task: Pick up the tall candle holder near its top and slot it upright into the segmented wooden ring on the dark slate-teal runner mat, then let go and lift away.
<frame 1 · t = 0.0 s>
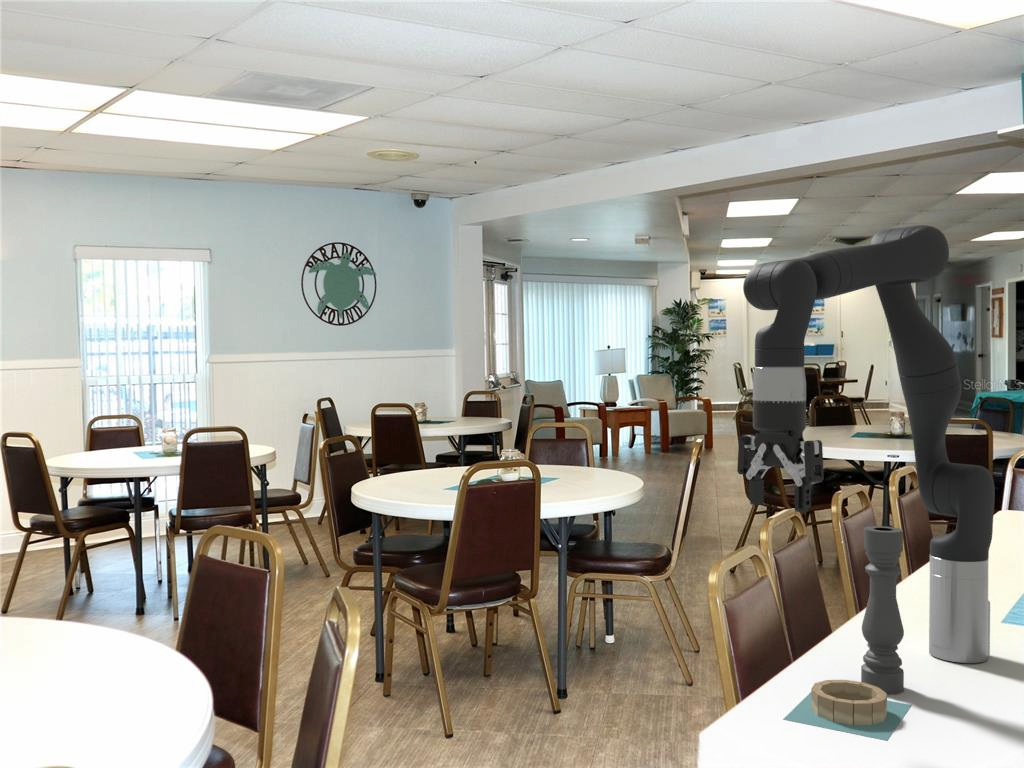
hand: (778, 508, 141), 29 cm above the table, fingers open, 8 cm apart
segmented wooden ring: (848, 711, 139), resting on runner mat
candle holder: (882, 691, 149), on the table
runner mat: (848, 714, 139), on the table
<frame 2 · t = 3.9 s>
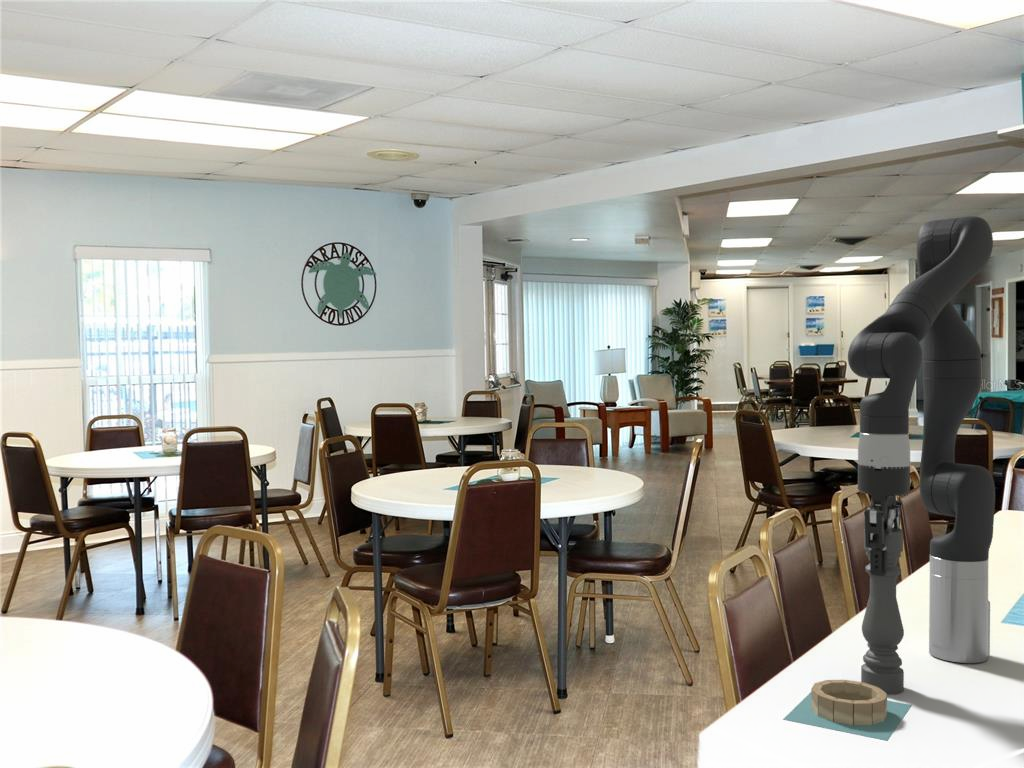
hand: (883, 571, 149), 19 cm above the table, fingers closed on candle holder, 5 cm apart
candle holder: (882, 691, 149), on the table, touching gripper
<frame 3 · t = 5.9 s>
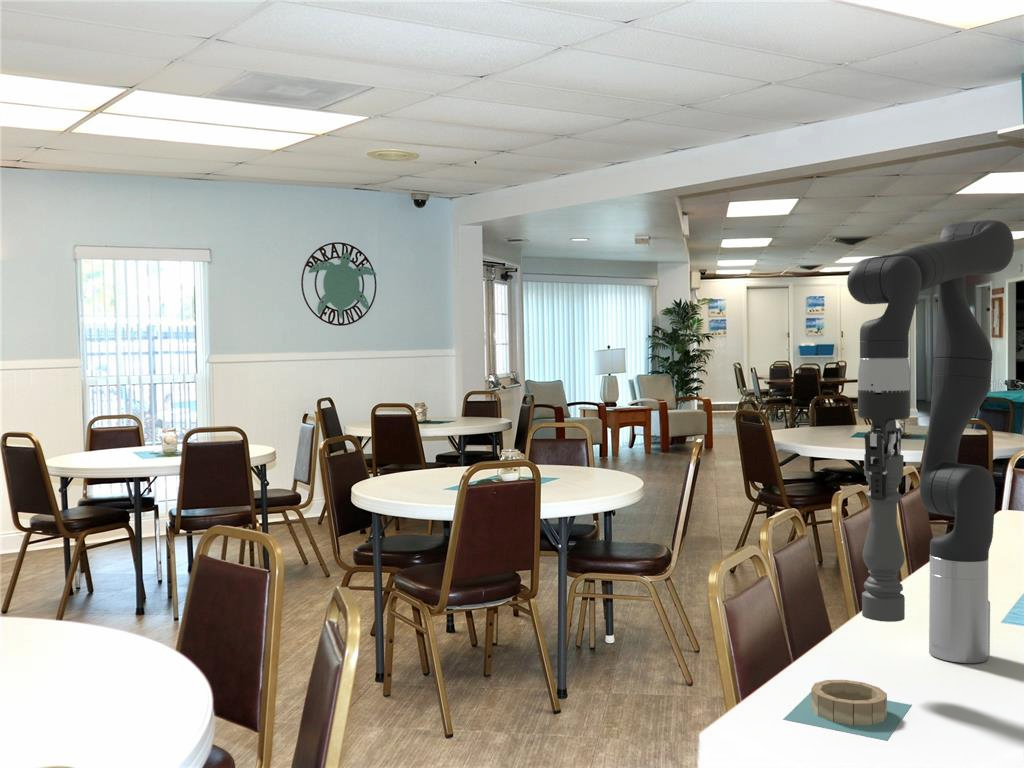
hand: (883, 496, 148), 30 cm above the table, fingers closed on candle holder, 5 cm apart
candle holder: (883, 617, 149), point 11 cm above the table, touching gripper
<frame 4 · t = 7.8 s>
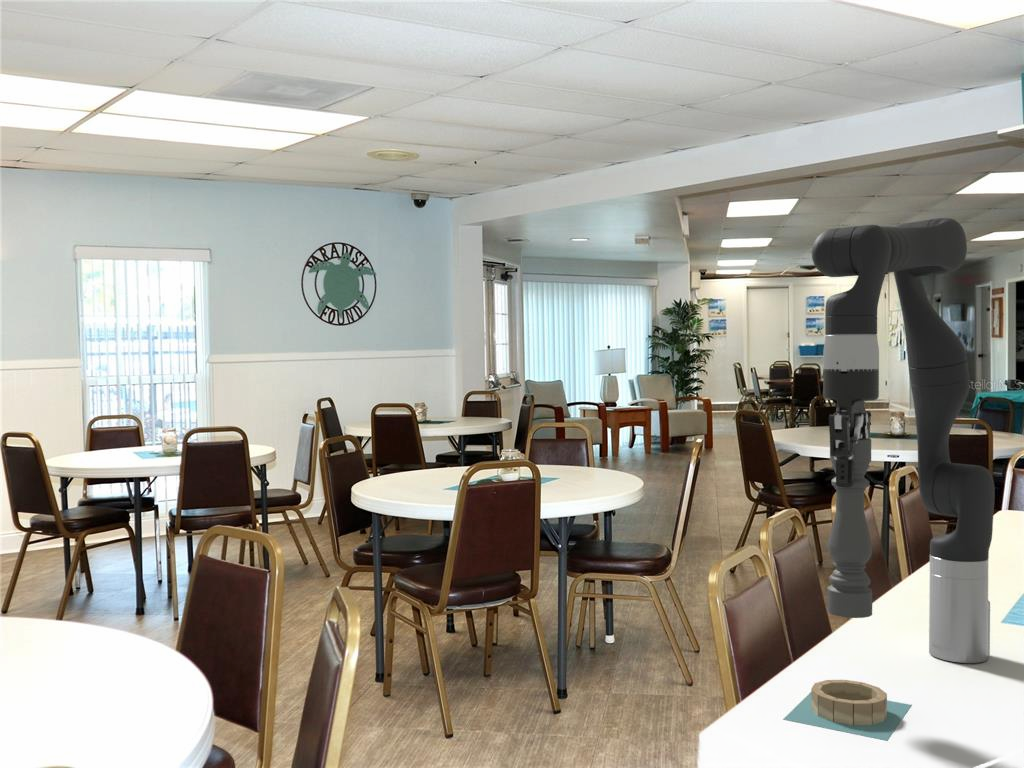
hand: (850, 484, 138), 33 cm above the table, fingers closed on candle holder, 5 cm apart
candle holder: (849, 613, 138), point 15 cm above the table, touching gripper
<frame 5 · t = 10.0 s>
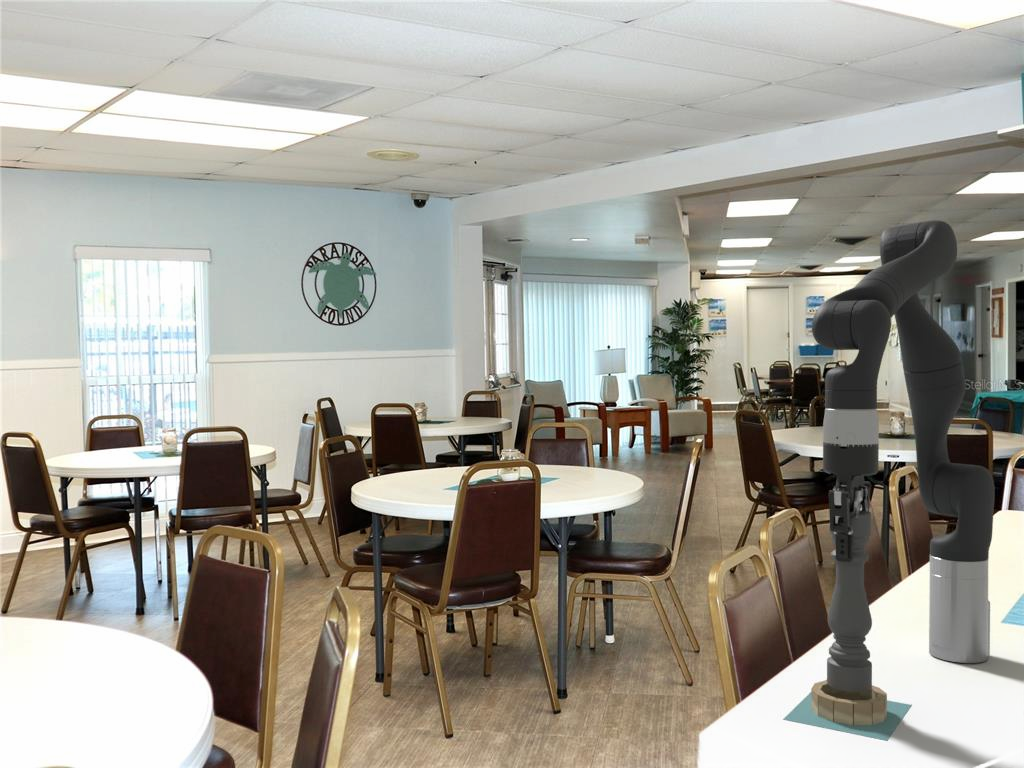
hand: (849, 557, 138), 23 cm above the table, fingers closed on candle holder, 5 cm apart
candle holder: (849, 686, 139), point 4 cm above the table, touching gripper
when the fingers open (20 cm above the table, at t = 11.8 s): candle holder stays where it is, resting on runner mat.
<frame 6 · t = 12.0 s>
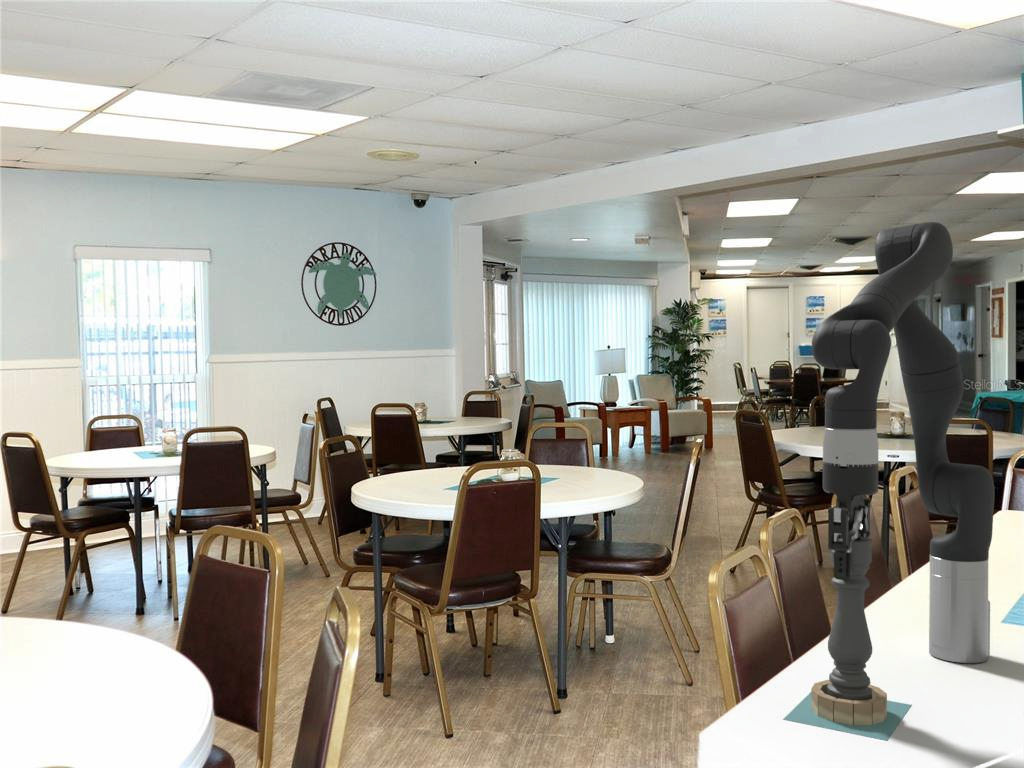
hand: (849, 574, 138), 20 cm above the table, fingers open, 7 cm apart
candle holder: (849, 712, 139), resting on runner mat
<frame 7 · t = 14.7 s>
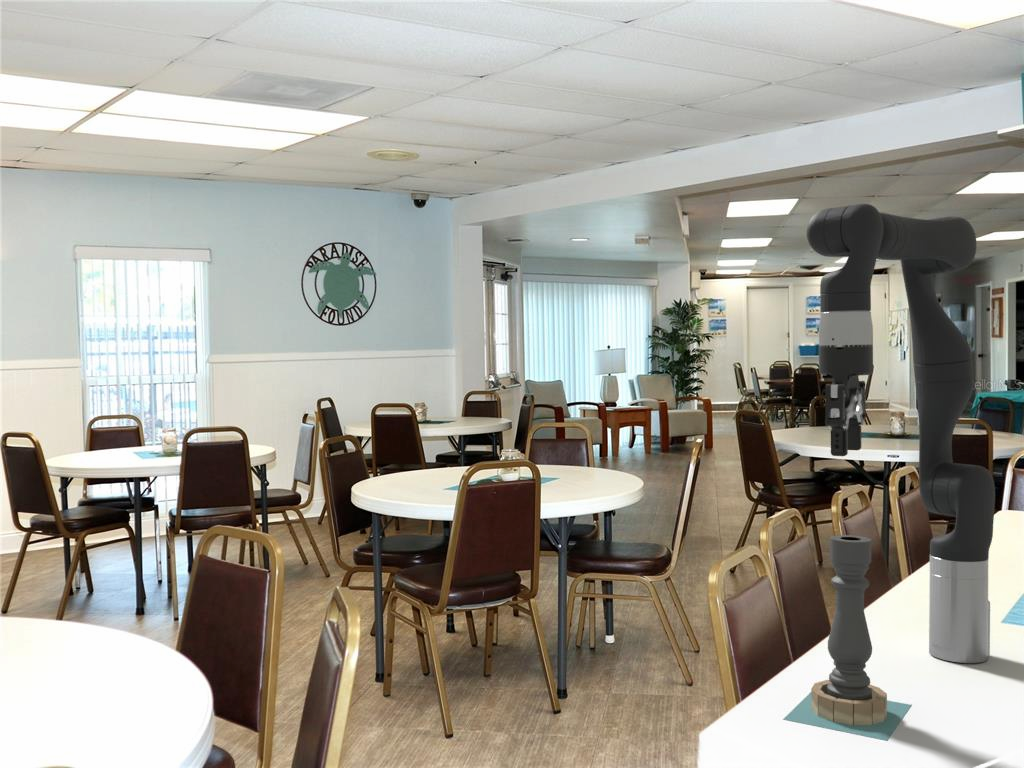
hand: (846, 452, 142), 37 cm above the table, fingers open, 8 cm apart
nothing on the table moved.
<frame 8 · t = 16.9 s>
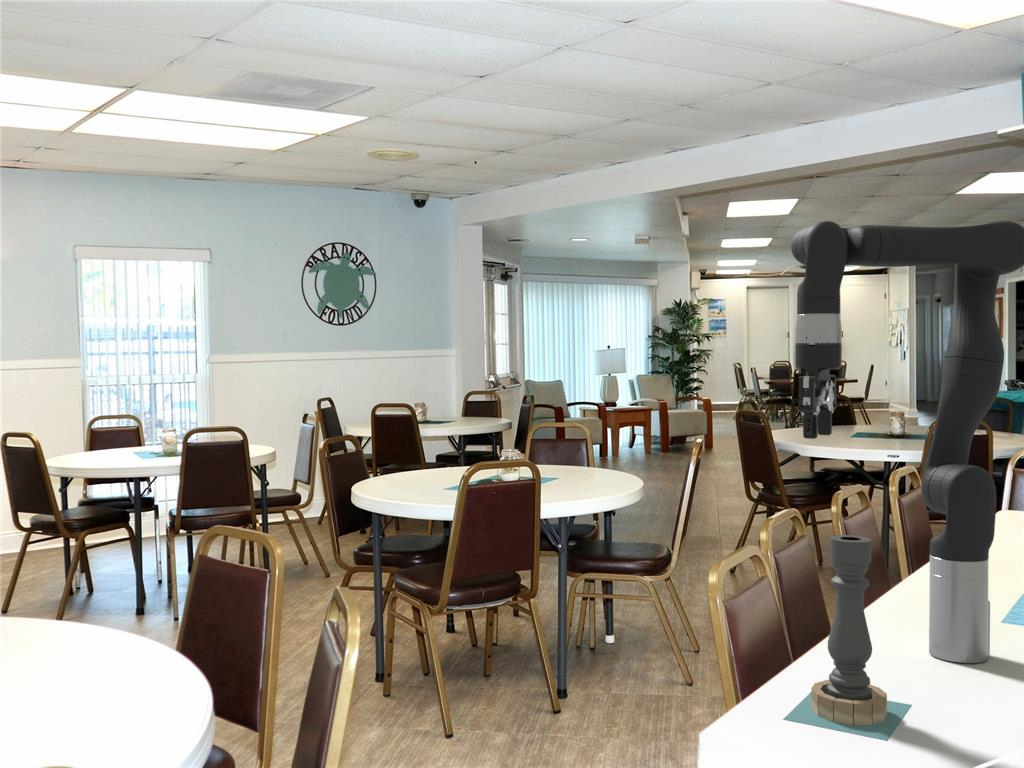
hand: (817, 436, 164), 38 cm above the table, fingers open, 8 cm apart
nothing on the table moved.
at the end: candle holder 0.2 cm off-centre on the segmented wooden ring, point 0.0 cm above the segmented wooden ring's base; candle holder tilted 0°; the gripper is holding nothing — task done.
